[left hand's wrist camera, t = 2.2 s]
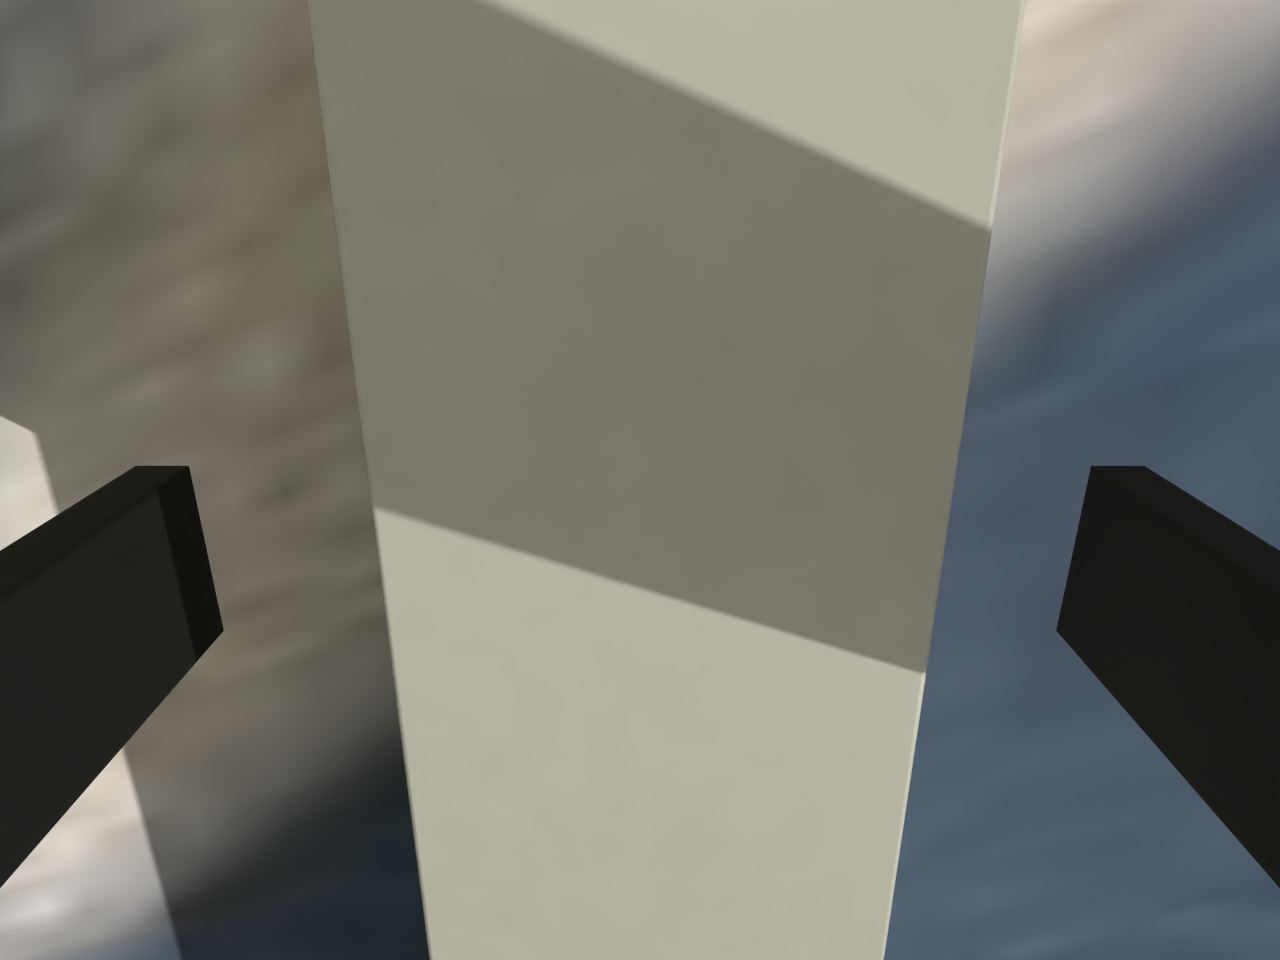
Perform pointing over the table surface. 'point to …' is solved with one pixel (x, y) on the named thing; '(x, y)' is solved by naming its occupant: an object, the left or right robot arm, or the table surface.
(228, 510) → the table surface
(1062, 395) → the table surface
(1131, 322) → the table surface
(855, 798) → the bar
